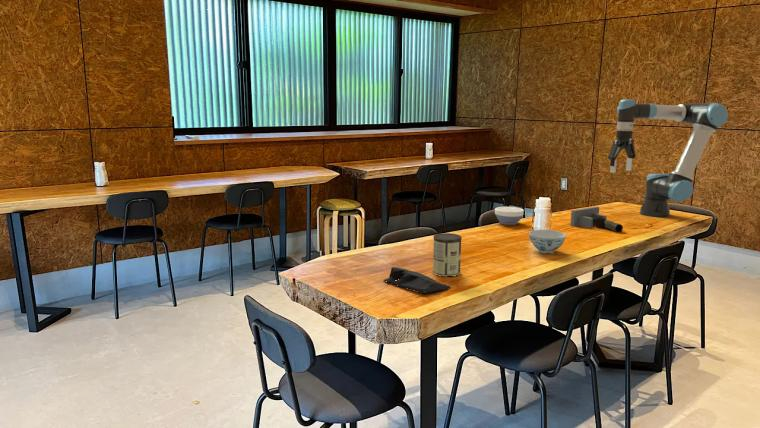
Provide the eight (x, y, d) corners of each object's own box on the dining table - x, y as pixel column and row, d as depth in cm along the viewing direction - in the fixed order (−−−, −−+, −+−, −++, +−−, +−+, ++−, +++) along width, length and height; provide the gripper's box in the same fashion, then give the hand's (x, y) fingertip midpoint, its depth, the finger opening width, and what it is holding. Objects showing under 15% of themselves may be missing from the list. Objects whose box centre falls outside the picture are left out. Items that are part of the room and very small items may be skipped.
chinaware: (549, 245, 244) (550, 228, 242) (572, 254, 230) (573, 236, 229) (520, 248, 239) (521, 231, 237) (542, 257, 225) (543, 239, 223)
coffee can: (443, 267, 212) (444, 231, 209) (465, 272, 205) (467, 236, 202) (426, 273, 205) (427, 236, 202) (449, 279, 198) (451, 241, 195)
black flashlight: (622, 232, 269) (623, 221, 268) (611, 233, 267) (612, 222, 266) (598, 224, 286) (599, 213, 285) (587, 225, 284) (588, 214, 283)
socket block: (594, 221, 293) (596, 206, 291) (609, 224, 285) (611, 209, 284) (570, 225, 282) (571, 210, 280) (585, 229, 275) (586, 213, 273)
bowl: (528, 223, 286) (529, 209, 285) (513, 228, 276) (514, 213, 274) (503, 219, 296) (504, 205, 295) (488, 223, 286) (489, 209, 284)
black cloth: (420, 299, 179) (421, 285, 178) (379, 281, 196) (380, 268, 196) (454, 289, 189) (454, 276, 188) (412, 273, 206) (412, 261, 205)
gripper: (616, 131, 272) (612, 174, 276) (645, 130, 285) (641, 170, 289) (603, 130, 278) (599, 172, 282) (632, 129, 291) (628, 169, 295)
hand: (620, 171), depth 286 cm, fingers open, 13 cm apart
